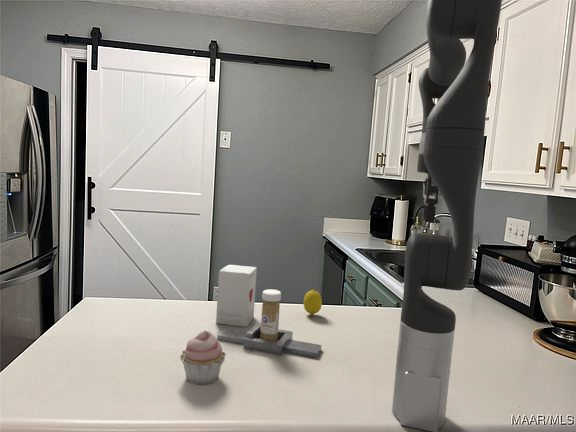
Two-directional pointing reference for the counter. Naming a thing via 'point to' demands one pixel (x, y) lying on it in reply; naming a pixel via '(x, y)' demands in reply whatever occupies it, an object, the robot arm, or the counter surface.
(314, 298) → the lemon
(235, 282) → the supplement box
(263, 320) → the sprinkles bottle
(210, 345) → the cupcake
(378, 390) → the counter surface
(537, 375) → the counter surface
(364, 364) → the counter surface
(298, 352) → the grey frame base plate
